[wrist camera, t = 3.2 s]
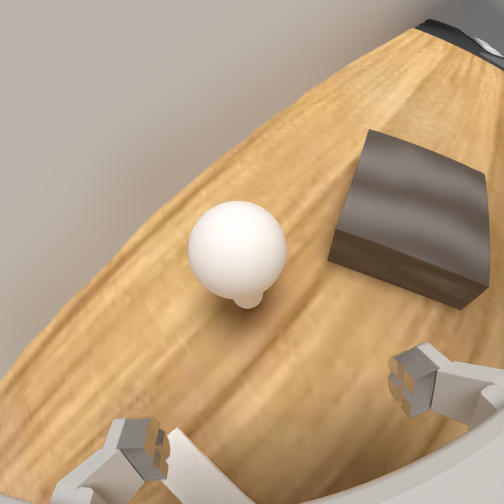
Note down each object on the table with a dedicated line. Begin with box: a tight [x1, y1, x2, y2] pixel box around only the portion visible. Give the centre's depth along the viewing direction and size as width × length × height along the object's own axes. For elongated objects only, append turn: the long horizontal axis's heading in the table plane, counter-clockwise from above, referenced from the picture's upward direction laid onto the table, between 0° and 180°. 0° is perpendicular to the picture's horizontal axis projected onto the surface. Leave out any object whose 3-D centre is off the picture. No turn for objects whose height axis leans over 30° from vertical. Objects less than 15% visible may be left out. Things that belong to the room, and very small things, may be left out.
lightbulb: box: [188, 201, 286, 309], centre depth 21 cm, size 6×6×11 cm
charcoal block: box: [328, 129, 490, 309], centre depth 26 cm, size 14×14×5 cm
